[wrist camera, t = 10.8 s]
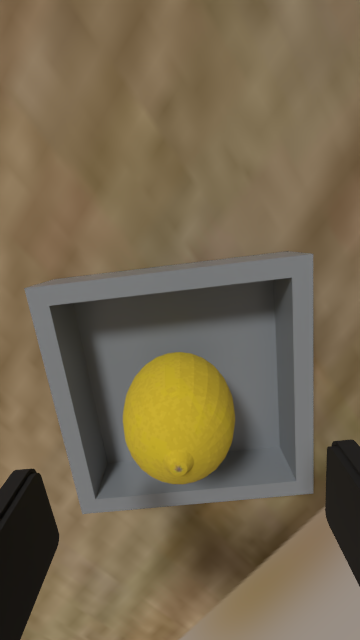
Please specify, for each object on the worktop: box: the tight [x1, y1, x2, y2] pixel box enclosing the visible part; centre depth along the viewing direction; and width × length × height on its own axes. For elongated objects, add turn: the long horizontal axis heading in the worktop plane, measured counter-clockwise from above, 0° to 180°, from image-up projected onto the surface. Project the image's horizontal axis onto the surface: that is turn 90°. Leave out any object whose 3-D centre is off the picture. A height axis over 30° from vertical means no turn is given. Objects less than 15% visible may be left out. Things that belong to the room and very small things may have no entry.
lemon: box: [123, 352, 235, 484], centre depth 15 cm, size 6×6×8 cm
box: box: [24, 251, 313, 514], centre depth 18 cm, size 14×14×4 cm
